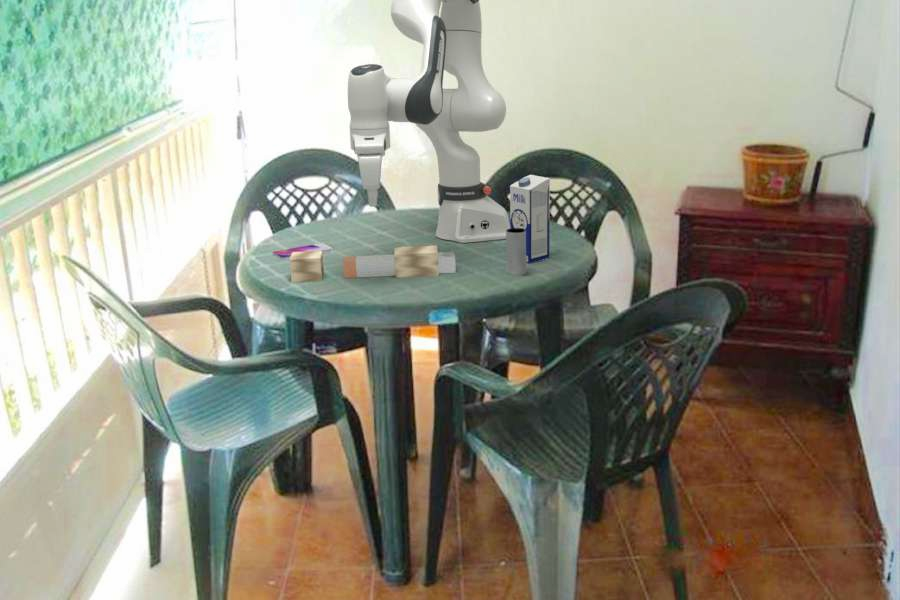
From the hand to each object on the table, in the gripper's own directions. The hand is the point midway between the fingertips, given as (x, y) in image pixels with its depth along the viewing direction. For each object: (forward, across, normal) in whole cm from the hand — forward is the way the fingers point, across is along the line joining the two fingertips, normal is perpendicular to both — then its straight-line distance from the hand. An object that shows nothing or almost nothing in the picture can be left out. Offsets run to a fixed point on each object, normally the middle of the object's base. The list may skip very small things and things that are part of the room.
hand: (373, 201), depth 192 cm
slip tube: (+17, 0, +5) cm, 18 cm away
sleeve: (+18, 0, +9) cm, 20 cm away
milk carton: (+18, -8, +37) cm, 42 cm away
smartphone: (+18, -24, -20) cm, 36 cm away
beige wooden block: (+18, 0, -16) cm, 24 cm away
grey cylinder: (+18, +4, +32) cm, 37 cm away
